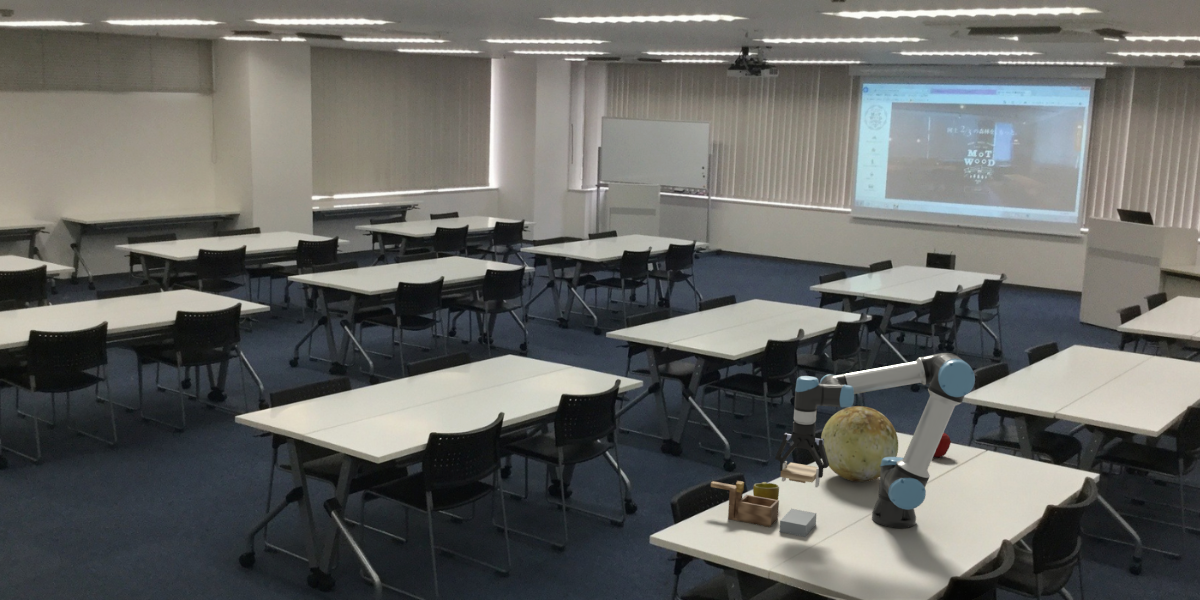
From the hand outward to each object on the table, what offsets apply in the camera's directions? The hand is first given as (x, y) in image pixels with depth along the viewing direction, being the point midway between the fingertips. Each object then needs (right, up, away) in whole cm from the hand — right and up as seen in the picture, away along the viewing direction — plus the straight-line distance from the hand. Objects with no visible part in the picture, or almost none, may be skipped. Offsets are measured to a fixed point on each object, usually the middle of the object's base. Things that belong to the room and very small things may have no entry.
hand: (800, 483), depth 358 cm
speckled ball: (+34, -9, +58) cm, 67 cm away
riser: (0, -16, +2) cm, 16 cm away
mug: (-8, -13, +25) cm, 29 cm away
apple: (+77, -5, +94) cm, 122 cm away
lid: (0, +3, 0) cm, 3 cm away
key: (-24, -4, +12) cm, 27 cm away
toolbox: (-15, -14, +9) cm, 23 cm away
